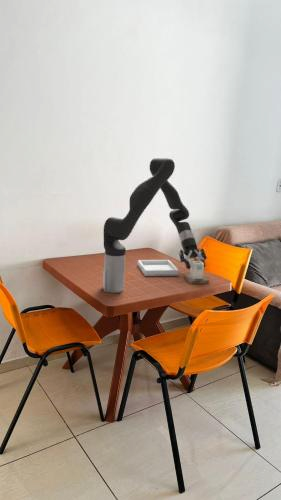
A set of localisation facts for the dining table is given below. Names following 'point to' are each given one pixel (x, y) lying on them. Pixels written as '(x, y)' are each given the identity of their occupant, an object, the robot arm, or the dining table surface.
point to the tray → (157, 268)
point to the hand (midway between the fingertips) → (196, 268)
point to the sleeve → (196, 269)
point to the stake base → (195, 281)
